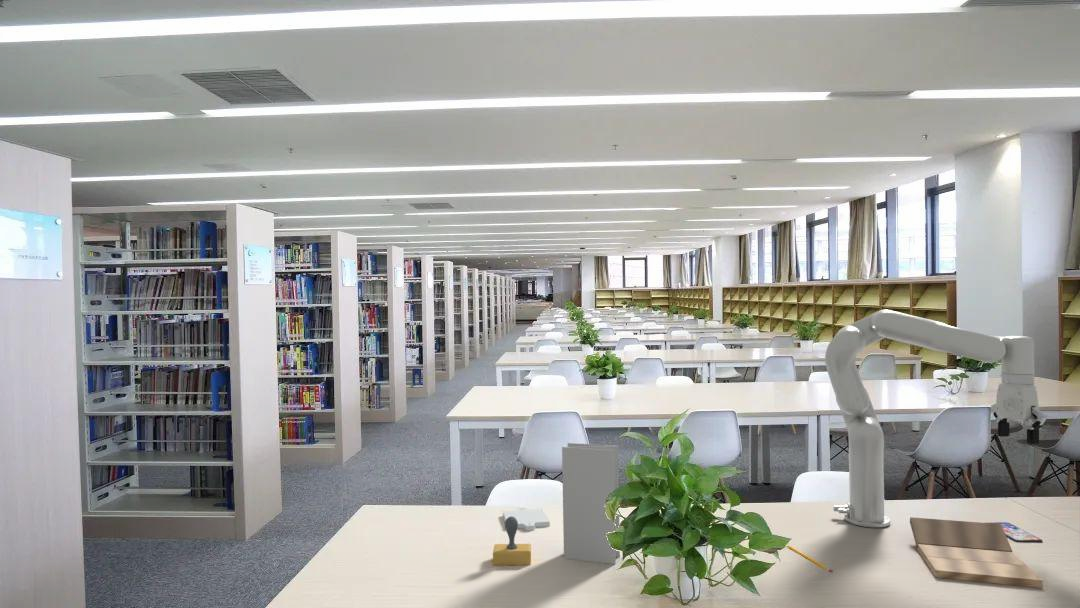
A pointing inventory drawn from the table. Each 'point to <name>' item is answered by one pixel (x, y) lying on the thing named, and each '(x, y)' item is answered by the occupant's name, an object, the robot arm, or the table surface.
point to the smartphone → (1017, 533)
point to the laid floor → (978, 565)
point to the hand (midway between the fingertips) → (1017, 439)
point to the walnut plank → (959, 534)
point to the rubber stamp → (512, 548)
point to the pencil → (810, 559)
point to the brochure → (588, 501)
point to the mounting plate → (528, 518)
